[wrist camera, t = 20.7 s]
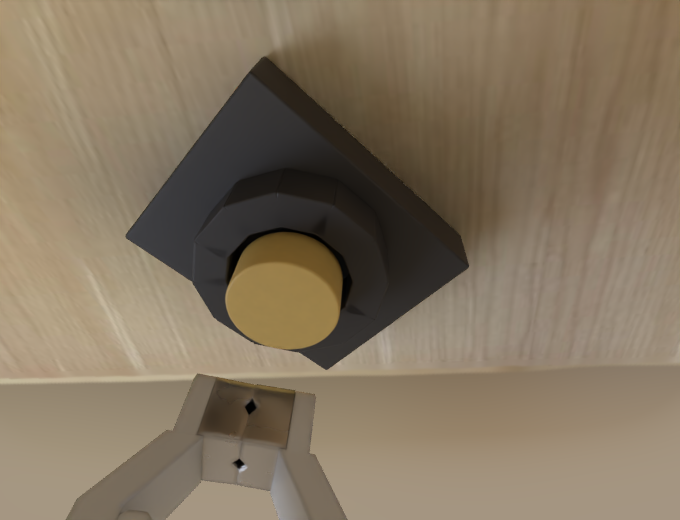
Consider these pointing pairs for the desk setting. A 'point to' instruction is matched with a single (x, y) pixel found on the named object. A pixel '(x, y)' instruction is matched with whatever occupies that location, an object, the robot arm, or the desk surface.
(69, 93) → the desk surface
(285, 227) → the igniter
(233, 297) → the button
